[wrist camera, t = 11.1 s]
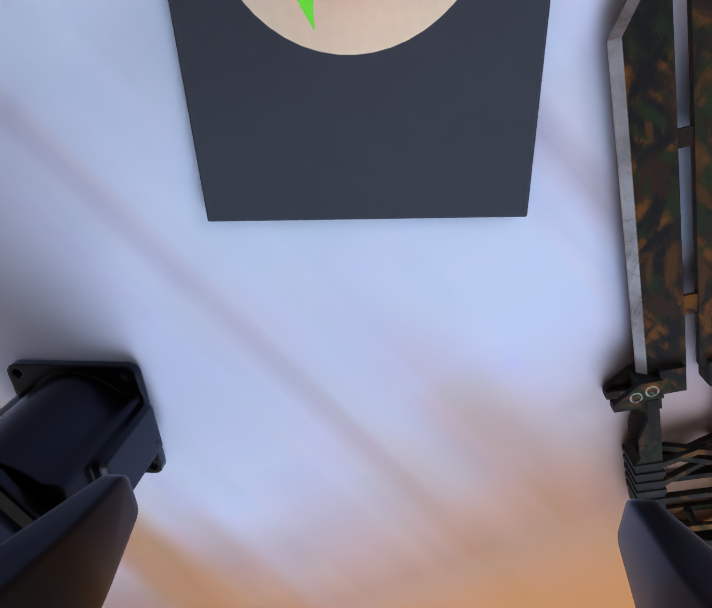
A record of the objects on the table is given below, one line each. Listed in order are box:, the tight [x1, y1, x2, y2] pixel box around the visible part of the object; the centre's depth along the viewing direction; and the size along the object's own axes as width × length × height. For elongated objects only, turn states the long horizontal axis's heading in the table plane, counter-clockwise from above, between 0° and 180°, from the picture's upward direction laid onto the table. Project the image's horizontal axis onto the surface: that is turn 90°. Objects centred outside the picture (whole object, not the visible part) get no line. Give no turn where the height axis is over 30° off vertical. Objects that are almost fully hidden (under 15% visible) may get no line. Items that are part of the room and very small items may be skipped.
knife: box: [603, 0, 712, 548], centre depth 19 cm, size 25×6×1 cm, turn 12°
